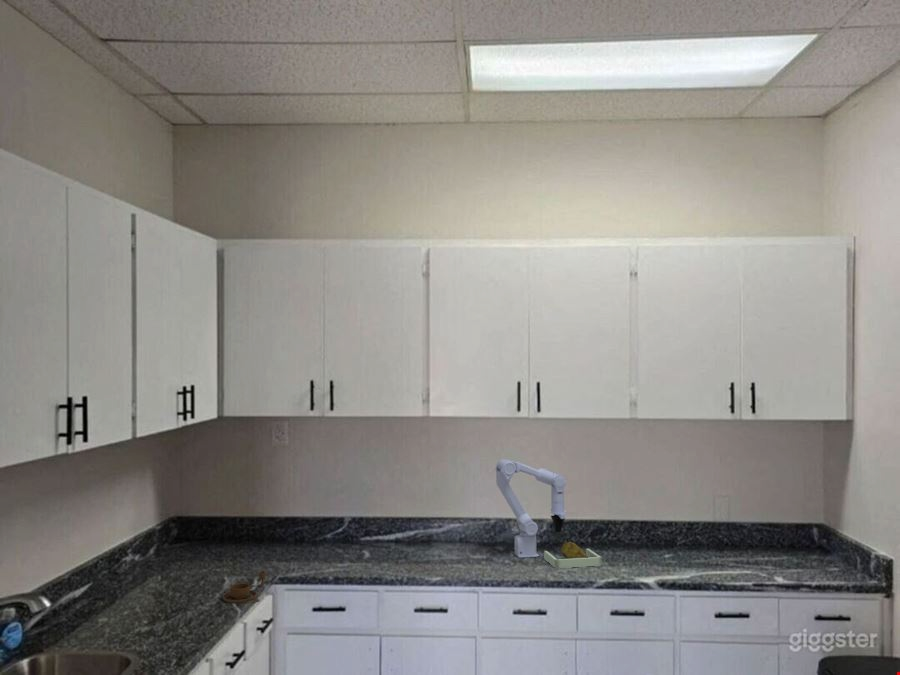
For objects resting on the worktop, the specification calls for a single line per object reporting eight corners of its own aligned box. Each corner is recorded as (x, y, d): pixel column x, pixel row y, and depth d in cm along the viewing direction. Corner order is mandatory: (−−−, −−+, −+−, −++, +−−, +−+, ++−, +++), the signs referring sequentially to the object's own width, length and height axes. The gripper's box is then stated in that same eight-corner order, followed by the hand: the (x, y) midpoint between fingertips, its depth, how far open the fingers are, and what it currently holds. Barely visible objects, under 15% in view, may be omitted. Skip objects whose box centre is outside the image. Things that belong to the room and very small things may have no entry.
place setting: (213, 597, 255) (213, 581, 256) (263, 586, 269) (263, 570, 269) (235, 609, 242) (235, 592, 243) (286, 596, 256) (286, 580, 256)
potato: (571, 567, 289) (571, 547, 289) (558, 559, 301) (558, 540, 302) (589, 565, 291) (589, 546, 292) (576, 558, 304) (575, 539, 304)
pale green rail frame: (555, 568, 287) (555, 560, 287) (544, 559, 302) (544, 551, 302) (602, 566, 291) (602, 557, 291) (588, 556, 306) (588, 548, 306)
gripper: (571, 504, 307) (572, 535, 306) (561, 498, 321) (561, 528, 320) (556, 504, 306) (556, 535, 305) (546, 498, 320) (546, 528, 319)
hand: (558, 531), depth 313 cm, fingers closed
